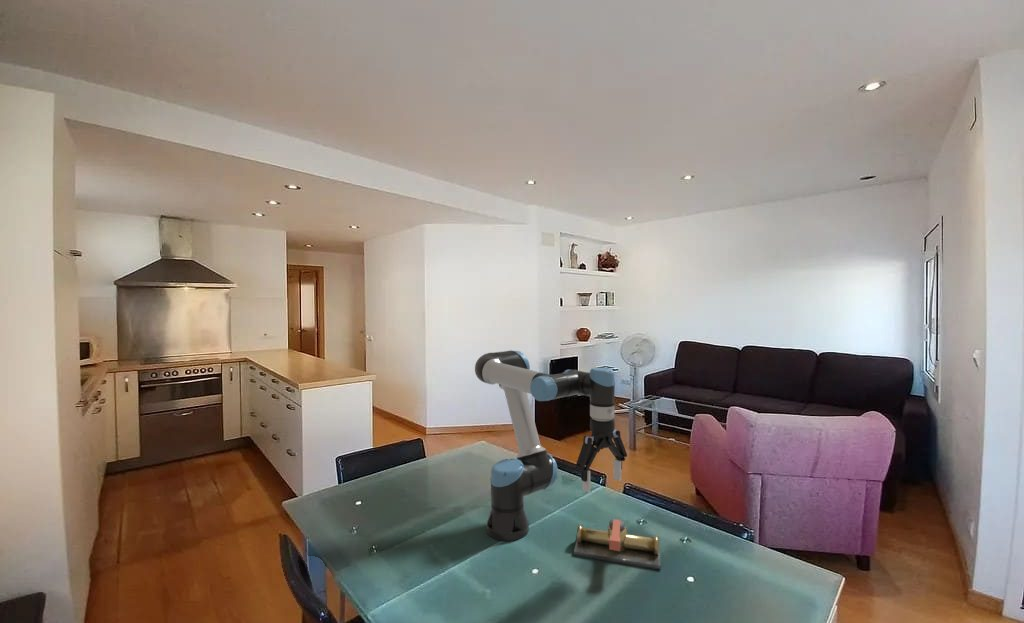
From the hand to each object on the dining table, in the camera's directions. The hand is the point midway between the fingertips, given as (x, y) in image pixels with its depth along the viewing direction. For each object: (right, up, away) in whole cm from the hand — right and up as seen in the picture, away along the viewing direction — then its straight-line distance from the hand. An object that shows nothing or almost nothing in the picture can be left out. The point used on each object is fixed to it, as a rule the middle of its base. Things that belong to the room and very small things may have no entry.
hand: (602, 485), depth 129 cm
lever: (+4, -16, -1) cm, 16 cm away
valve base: (+6, -23, +5) cm, 24 cm away
